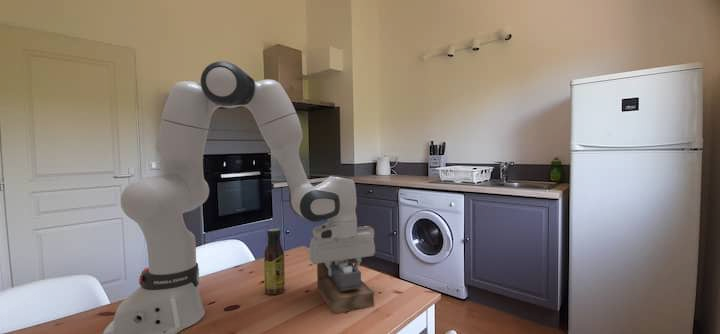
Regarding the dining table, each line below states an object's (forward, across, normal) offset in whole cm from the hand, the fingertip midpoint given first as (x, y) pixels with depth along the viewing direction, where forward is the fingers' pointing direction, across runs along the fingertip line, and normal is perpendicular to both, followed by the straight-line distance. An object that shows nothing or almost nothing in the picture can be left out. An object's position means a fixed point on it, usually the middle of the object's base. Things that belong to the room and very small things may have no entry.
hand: (343, 273), depth 99 cm
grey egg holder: (+2, 0, 0) cm, 2 cm away
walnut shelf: (+7, 0, 0) cm, 7 cm away
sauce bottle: (+8, +19, -13) cm, 24 cm away
